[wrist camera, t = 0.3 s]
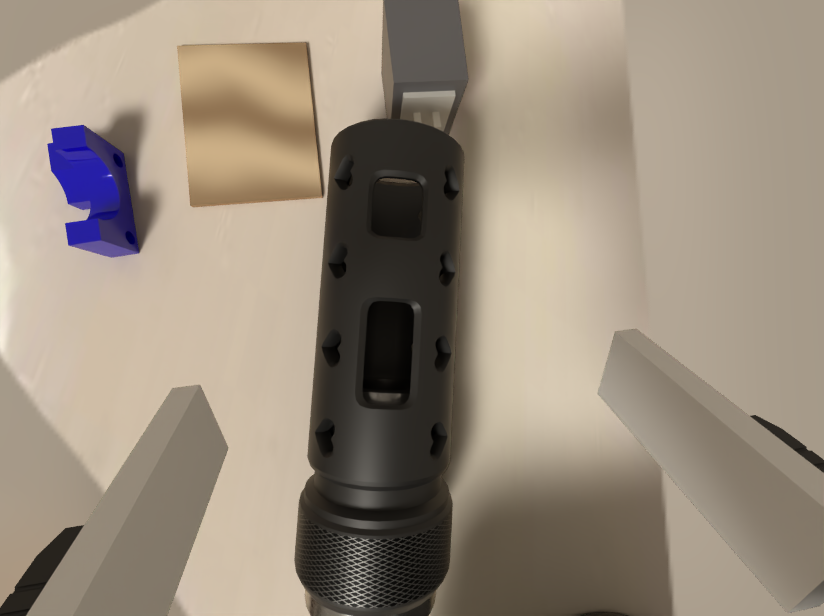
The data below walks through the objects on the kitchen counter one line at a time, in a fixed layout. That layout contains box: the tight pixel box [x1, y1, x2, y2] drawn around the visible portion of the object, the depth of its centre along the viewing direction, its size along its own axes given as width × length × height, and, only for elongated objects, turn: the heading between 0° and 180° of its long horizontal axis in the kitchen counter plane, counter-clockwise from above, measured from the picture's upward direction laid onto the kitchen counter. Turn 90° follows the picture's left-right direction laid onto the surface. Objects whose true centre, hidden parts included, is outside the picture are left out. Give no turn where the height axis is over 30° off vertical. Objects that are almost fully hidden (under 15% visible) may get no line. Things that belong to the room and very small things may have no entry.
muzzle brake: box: [294, 118, 464, 616], centre depth 24 cm, size 10×28×10 cm, turn 177°
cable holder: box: [48, 125, 139, 258], centre depth 25 cm, size 8×4×4 cm, turn 11°
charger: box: [381, 0, 468, 135], centre depth 27 cm, size 8×5×7 cm, turn 7°
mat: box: [177, 43, 322, 207], centre depth 28 cm, size 13×10×1 cm
